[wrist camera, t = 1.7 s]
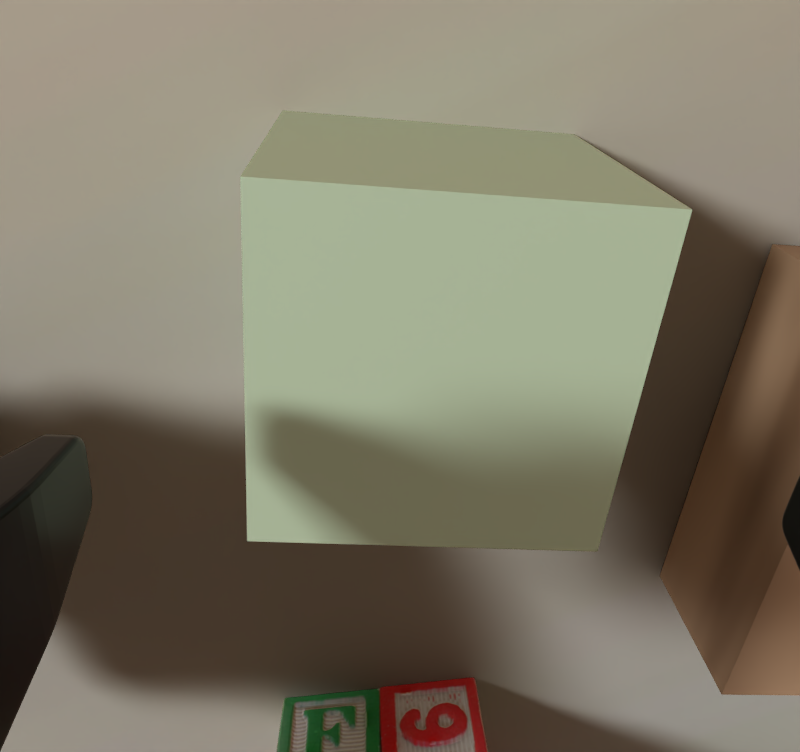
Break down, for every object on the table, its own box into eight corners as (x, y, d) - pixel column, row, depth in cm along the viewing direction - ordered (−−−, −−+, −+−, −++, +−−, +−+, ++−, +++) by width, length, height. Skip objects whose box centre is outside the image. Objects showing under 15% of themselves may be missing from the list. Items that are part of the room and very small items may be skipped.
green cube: (281, 373, 17) (247, 541, 12) (283, 109, 14) (240, 176, 9) (525, 385, 18) (596, 551, 12) (573, 133, 15) (692, 209, 10)
